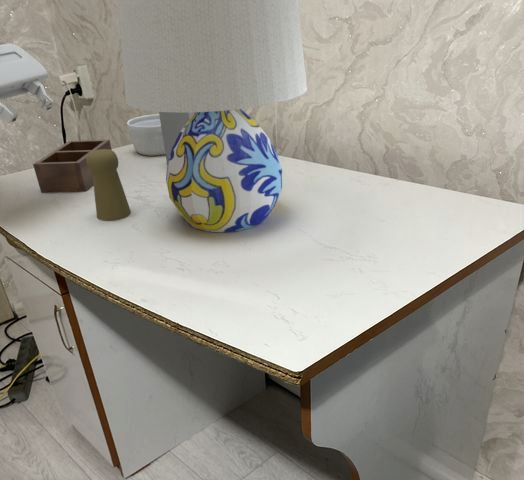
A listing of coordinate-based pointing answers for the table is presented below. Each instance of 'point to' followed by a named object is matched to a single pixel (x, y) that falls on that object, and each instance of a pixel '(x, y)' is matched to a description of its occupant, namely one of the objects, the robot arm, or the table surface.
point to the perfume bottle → (172, 128)
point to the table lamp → (215, 97)
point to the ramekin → (147, 135)
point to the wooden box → (68, 167)
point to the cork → (107, 185)
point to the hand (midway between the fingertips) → (32, 112)
